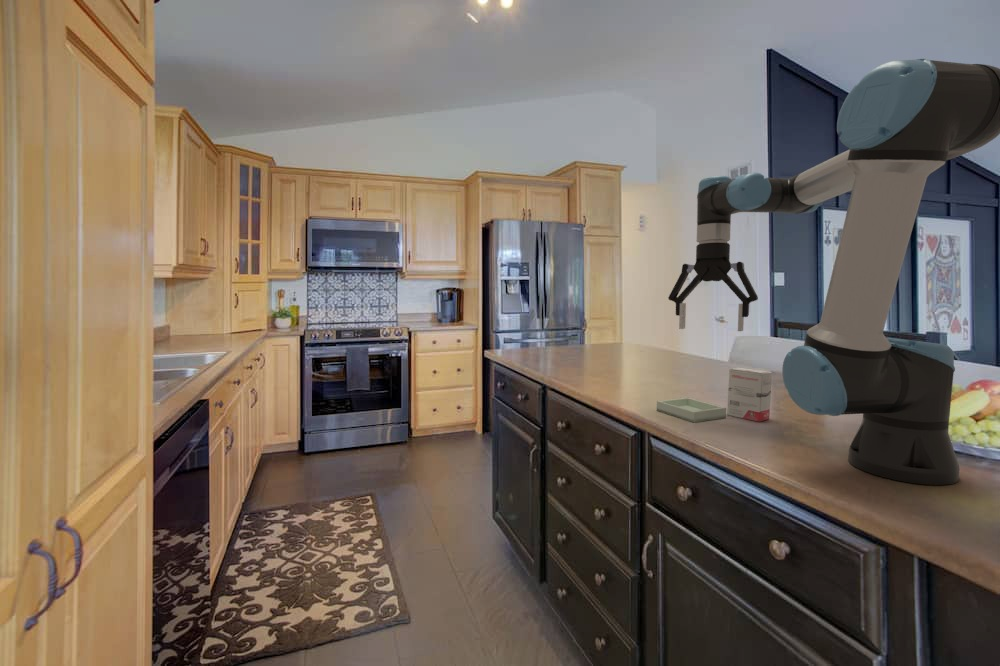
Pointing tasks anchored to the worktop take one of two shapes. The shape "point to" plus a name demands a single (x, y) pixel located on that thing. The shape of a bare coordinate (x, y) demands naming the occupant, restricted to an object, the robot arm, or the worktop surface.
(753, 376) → the ink box
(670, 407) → the pale green tray
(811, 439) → the worktop surface
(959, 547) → the worktop surface
